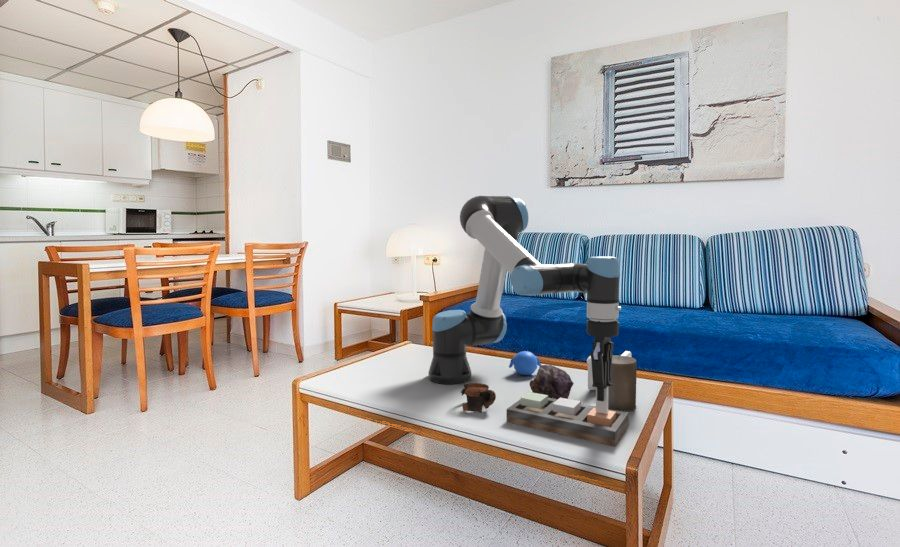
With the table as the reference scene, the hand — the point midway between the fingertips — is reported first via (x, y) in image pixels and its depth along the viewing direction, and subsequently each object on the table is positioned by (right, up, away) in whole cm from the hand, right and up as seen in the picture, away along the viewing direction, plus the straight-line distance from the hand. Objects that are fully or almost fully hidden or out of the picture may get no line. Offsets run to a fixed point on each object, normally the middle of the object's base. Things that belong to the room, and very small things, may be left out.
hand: (601, 412), depth 116 cm
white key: (-8, -1, +5) cm, 9 cm away
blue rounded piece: (-11, -2, +51) cm, 52 cm away
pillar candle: (+11, -4, +18) cm, 21 cm away
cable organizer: (+13, -3, +33) cm, 36 cm away
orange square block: (0, -2, 0) cm, 2 cm away
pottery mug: (-30, -4, +18) cm, 35 cm away
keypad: (-7, -5, +5) cm, 10 cm away
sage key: (-15, -1, +10) cm, 18 cm away
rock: (-6, -3, +26) cm, 27 cm away
